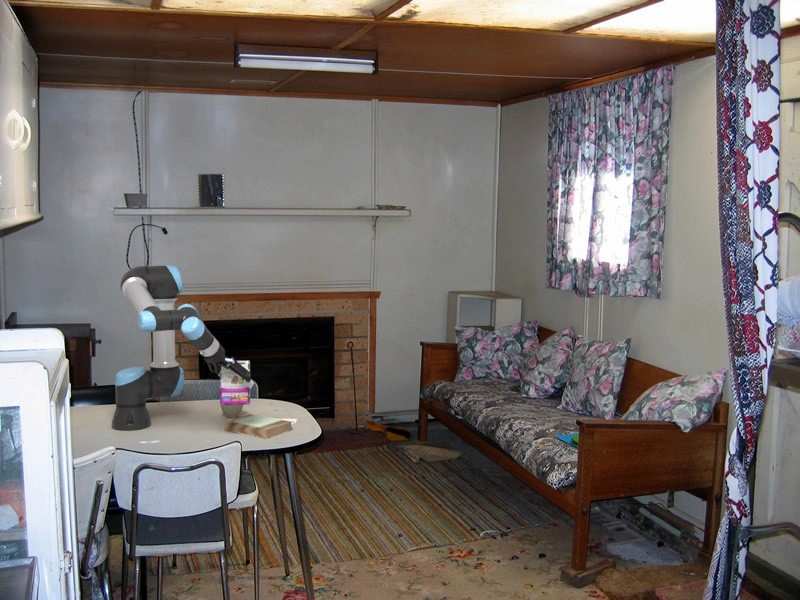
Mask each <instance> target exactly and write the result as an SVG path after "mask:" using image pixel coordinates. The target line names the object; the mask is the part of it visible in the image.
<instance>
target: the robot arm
mask: <svg viewBox="0 0 800 600" xmlns="http://www.w3.org/2000/svg"><path fill="white" fill-rule="evenodd" d="M182 279H183V278H182V275H181V272H180V270H179V269H178V267H177V266H175V265H165V264H164V265H147V266H145V265H144V266H143V265H141V266H135V267H132V268H130V269H129V270H127V271H126V272H125V273H124V274H123V276H122V277H121V279H120V283H119V284H120V291H121V293H122V295H123V296H124V297H125V298H127V299H128V300H129V301H130V303H131V304H132V306H133V307H134V309H135V311H136V312H137V326H138V330H139V331H140V332H143V333H152V341H153V342H152V351H153V361H152V362H151V363H150V364H149V369H148V370H147V368H145V367H144V366H132V367H129V368H128V367H127V368H124V369H121V370H119V371H118V372H117V373H116V374H115V379H114V380H115V381H114V386H115V409H114V410H115V411H114V414H113V418H112V420H111V428H112V429H114V430H117V431H118V430H119V431H135V430H143V429H146V428H149V427H150V426H152V425H151V424H152V422H151V421H152V420H151V417H150V414H149V410H148V408H147V400H151V399H160V398H171V397H176V396H179V395H180V394H181V393H182V391H183V388H184V385H185V384H184V383H185V375H184V374H185V372H184V369H183V368H182V367H180V364H179V362H177V360H176V340H175V339H176V336H175V335H176V334H175V333H176V331H181V332H182V333H183V335H184V337H185V338H186V339H188V341H189V342H190V343H191V344H192V345H193V346H194V347H195V348H196V350H197V351H198V352H199V355H201V356H202V357H203V360H204V361H205V362H206V364H207V366H208V368H209V371H210V372H211V373H212V374H213V373H214V374H216V375H217V376H218V377H219V378H220V366H223V367H224V368H226V369H230V370H231V371H233V372H234V373H236V374H237V375H239V376H240V377H242V378H241V379H242V380H243V381H244V383H245V384H246V385H247V386H248V387H249V388H250V390H251V389H252V388H253V386H254V385H255V382H254V380H253V379H252V378H251V376H250V377H249V374H250V375H251V371H250V372H249V371H248V370H247V369H246V368H244V367H243V366H242V365H241V364H239V363H238V362H237V361H238V360H236V358H235V357H233V356H232V357H230V358H229V357H228V356H226V351H225V348H224V346H222V345H221V343H220V342H219V341H218V340H217V338H215V336H214V335H213V334H212V333H211V331H209V329H208V328H207V326H206V325H205V323H204V321H203V319H202V318H201V316H200V314H199V311H198V310H197V308H196V307H195V306H193V305H192V304H190V303H184V304H182V305H180V306H179V307H178V308H177V309H175V302H176V301H177V300H178V299H179V295H180V294H182V293H183V286H184V285H183V280H182ZM228 363H229V365H228ZM227 365H228V367H227Z"/></svg>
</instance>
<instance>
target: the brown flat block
mask: <svg viewBox="0 0 800 600" xmlns="http://www.w3.org/2000/svg"><path fill="white" fill-rule="evenodd" d="M253 415H254V414H252V413H249V414H245V415H242V416H238V417H237V418H230V419H228V420H225V421H224V431H227V430H228V432H232V431H233V432H232V433H237V432H240V433H239V434H242V433H244V434H243V435H246V434H249V435H248V436H251V435H254V436H253V437H256V436H259V437H258V438H261V437H263V438H262V439H266V438H267V439H270V438H273V437H275V435H276V436H278V434H279V435H281V433H282V434H284V433H283V432H285V433H287V432H286V431H288V432H290V431H289V430H291V431H292V421H289V420H283V419H281V420H282V421H280V422H277V423H274V424H271V425H268V426H264V427H261V428H259V427H254V426H249V425H244V424H239V423H234V421H236V420H240V419H243V418H246V417H250V416H253ZM272 436H273V437H272ZM269 437H270V438H269Z"/></svg>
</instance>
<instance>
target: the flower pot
mask: <svg viewBox="0 0 800 600" xmlns="http://www.w3.org/2000/svg"><path fill="white" fill-rule="evenodd" d="M219 404H220V408H221V411H222V413H223V415H224V416H225V417H226V419H235V418H238V417H240V415H241V412H242V410H243V407H244V405H221V399H220V400H219Z"/></svg>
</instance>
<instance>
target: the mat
mask: <svg viewBox="0 0 800 600" xmlns="http://www.w3.org/2000/svg"><path fill="white" fill-rule="evenodd" d="M282 420H283V419H280V418H276V417H271V416H270V417H269V416H265V415H259V414H253V416H250V417H246V418H243V419H240V420H236V421H234V423H239V424H244V425H249V426H254V427H259V428H261V427H264V426H268V425H271V424H274V423H277V422H280V421H282Z"/></svg>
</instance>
